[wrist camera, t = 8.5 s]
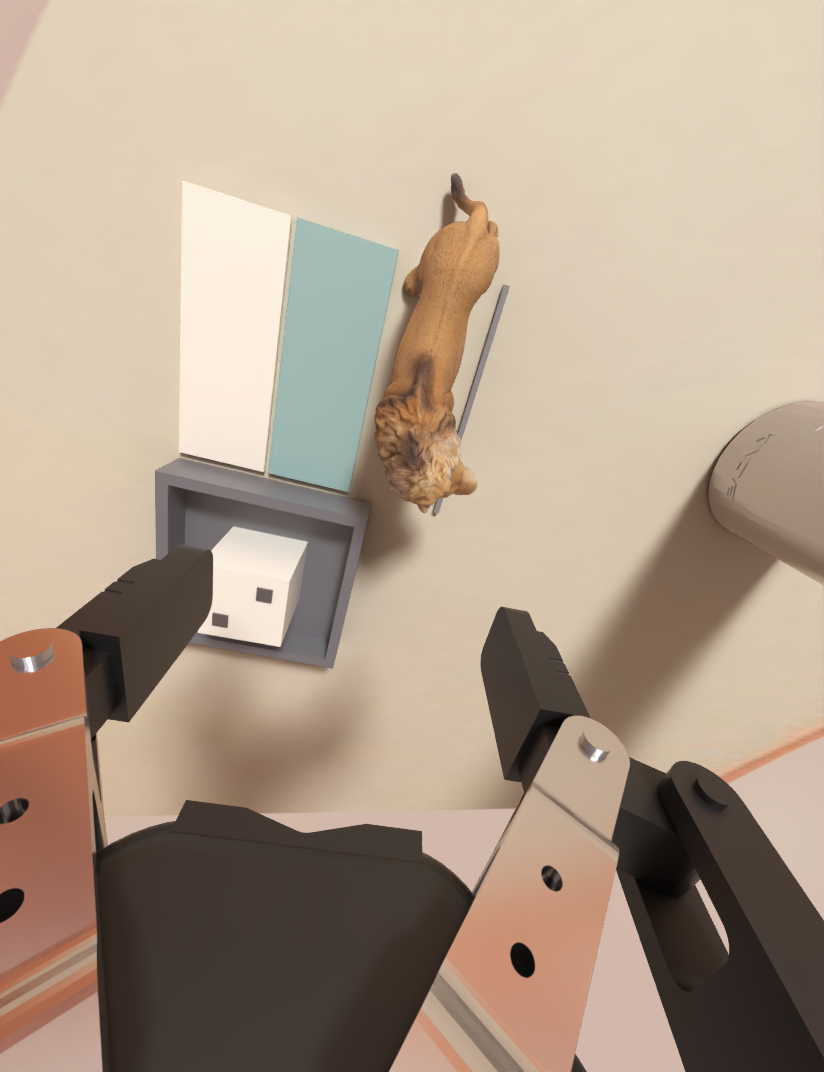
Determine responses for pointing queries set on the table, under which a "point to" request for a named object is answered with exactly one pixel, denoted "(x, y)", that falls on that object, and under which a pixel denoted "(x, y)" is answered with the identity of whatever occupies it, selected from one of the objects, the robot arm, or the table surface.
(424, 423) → the lion figurine
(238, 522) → the dice tray
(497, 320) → the track
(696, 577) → the table surface
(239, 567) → the die
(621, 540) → the table surface
